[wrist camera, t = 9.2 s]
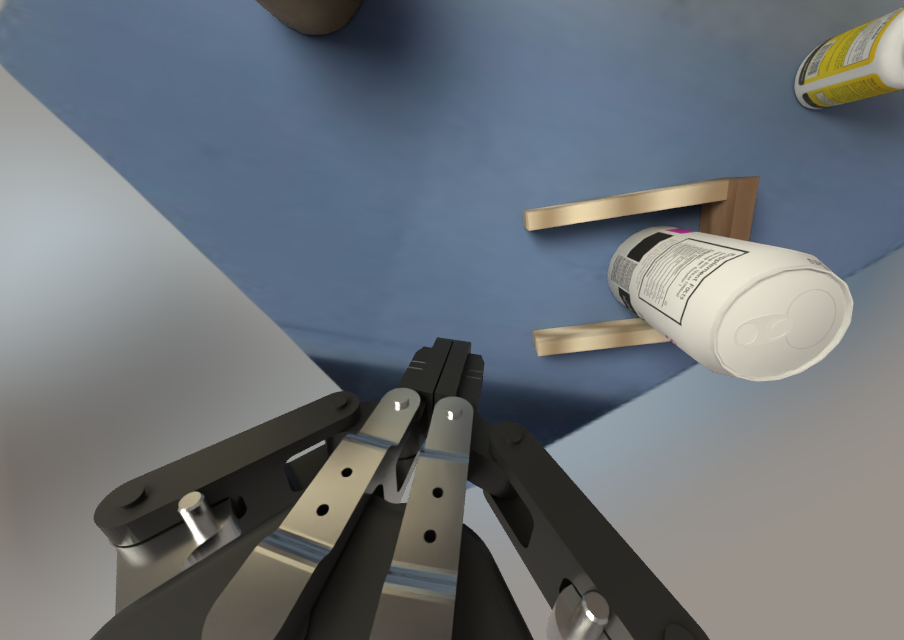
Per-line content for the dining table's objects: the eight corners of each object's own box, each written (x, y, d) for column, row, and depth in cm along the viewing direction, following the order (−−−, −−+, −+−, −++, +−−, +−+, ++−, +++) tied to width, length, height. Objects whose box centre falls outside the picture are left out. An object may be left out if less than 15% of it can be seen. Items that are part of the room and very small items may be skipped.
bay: (533, 343, 36) (540, 360, 32) (522, 210, 31) (529, 213, 27) (704, 322, 34) (732, 339, 30) (722, 177, 29) (759, 176, 25)
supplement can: (690, 213, 30) (876, 234, 16) (693, 295, 33) (855, 373, 19) (599, 239, 31) (700, 278, 18) (610, 315, 34) (704, 402, 20)
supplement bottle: (862, 89, 26) (1028, 47, 18) (795, 122, 27) (926, 94, 19) (857, 23, 25) (1036, -55, 17) (787, 59, 26) (925, 2, 18)
